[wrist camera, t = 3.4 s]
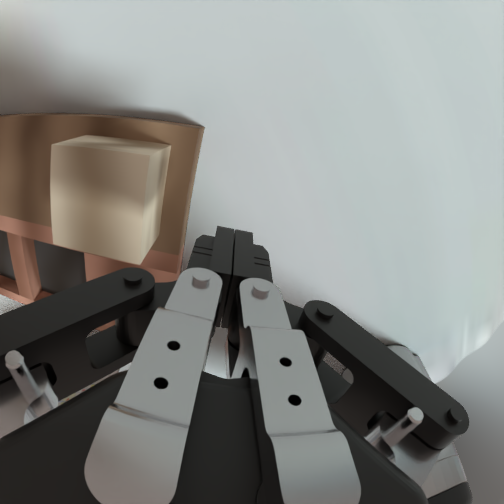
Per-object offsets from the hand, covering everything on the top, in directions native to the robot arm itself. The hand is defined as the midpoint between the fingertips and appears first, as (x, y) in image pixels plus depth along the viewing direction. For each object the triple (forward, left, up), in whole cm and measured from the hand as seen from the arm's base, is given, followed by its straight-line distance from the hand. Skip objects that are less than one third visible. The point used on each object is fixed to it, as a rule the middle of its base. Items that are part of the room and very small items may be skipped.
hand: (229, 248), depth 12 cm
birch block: (+8, 0, -6) cm, 10 cm away
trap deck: (+16, +5, -8) cm, 18 cm away
